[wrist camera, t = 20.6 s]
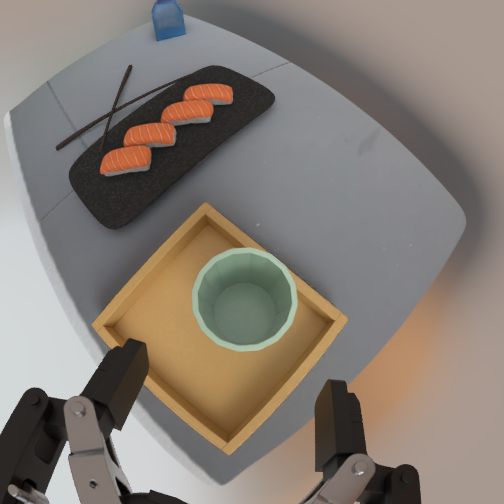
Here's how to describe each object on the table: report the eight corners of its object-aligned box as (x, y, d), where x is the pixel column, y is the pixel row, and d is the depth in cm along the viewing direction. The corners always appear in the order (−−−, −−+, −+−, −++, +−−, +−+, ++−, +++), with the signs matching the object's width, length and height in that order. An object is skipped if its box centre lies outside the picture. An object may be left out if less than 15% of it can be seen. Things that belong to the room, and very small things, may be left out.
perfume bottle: (182, 24, 46) (176, -17, 34) (185, 34, 44) (179, -11, 32) (155, 31, 45) (147, -10, 33) (157, 41, 43) (147, -4, 32)
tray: (338, 321, 27) (349, 318, 24) (230, 444, 23) (229, 455, 20) (208, 214, 30) (205, 201, 28) (104, 327, 26) (90, 324, 23)
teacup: (292, 309, 27) (317, 292, 17) (248, 360, 25) (250, 372, 16) (241, 266, 28) (239, 228, 19) (196, 315, 26) (171, 302, 17)
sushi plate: (118, 245, 29) (104, 233, 25) (40, 137, 35) (30, 124, 31) (283, 106, 36) (286, 86, 33) (162, 48, 42) (159, 33, 38)
